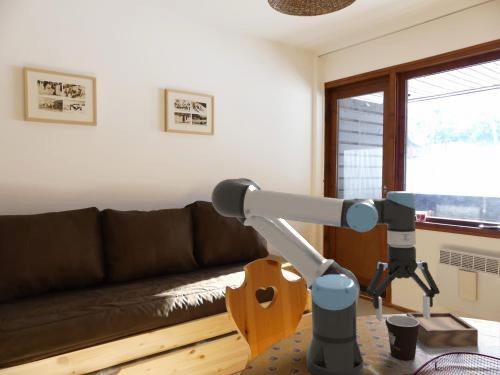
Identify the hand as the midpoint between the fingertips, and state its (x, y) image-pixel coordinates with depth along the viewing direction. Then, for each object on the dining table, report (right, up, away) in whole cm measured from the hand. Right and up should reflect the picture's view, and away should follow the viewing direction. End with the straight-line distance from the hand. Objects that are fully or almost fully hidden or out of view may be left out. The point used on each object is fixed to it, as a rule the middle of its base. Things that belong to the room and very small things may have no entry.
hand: (402, 319), depth 110 cm
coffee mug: (0, -10, 0) cm, 10 cm away
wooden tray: (+16, -9, +11) cm, 22 cm away
